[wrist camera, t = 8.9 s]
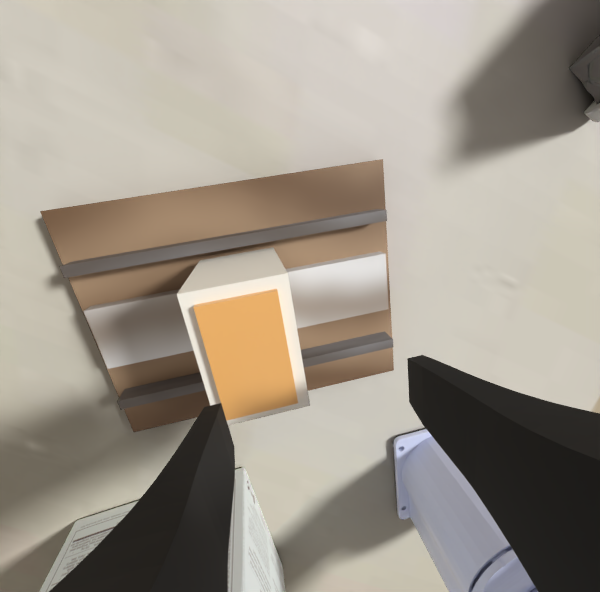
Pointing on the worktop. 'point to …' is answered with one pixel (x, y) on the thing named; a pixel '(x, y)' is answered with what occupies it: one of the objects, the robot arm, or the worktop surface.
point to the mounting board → (221, 242)
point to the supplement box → (241, 554)
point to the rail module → (245, 334)
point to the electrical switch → (590, 76)
